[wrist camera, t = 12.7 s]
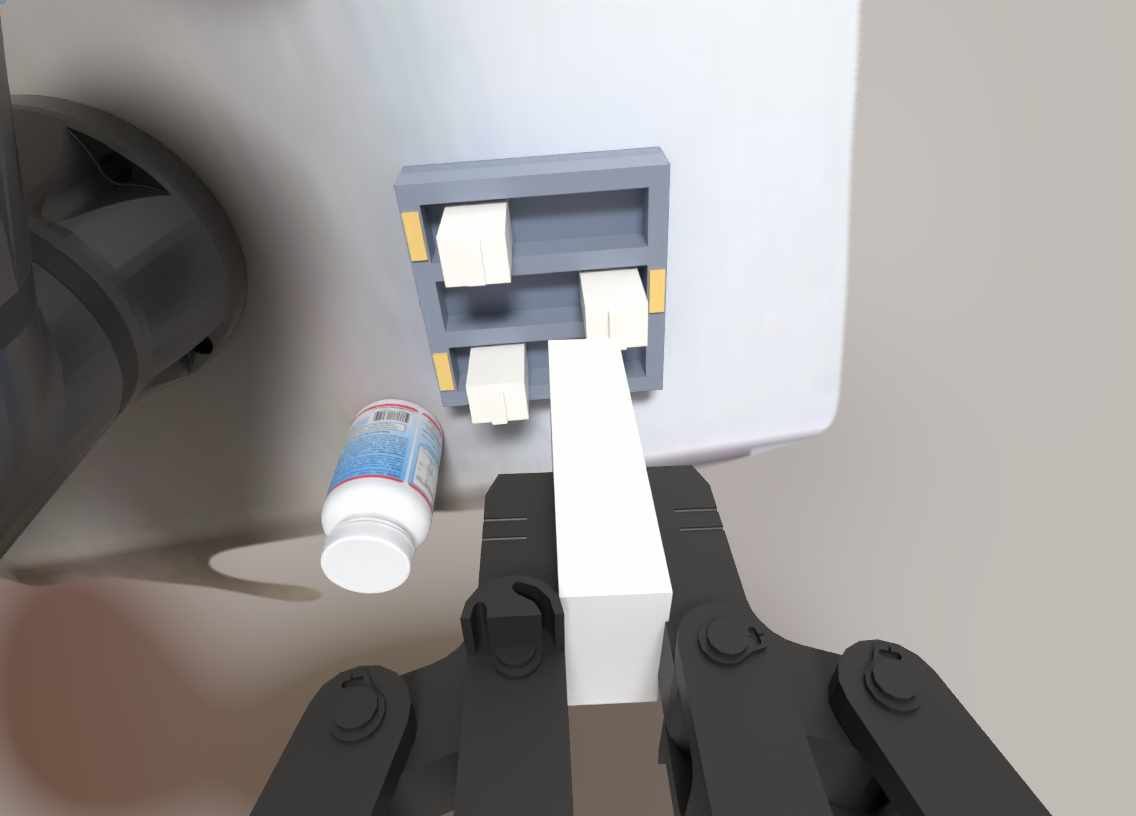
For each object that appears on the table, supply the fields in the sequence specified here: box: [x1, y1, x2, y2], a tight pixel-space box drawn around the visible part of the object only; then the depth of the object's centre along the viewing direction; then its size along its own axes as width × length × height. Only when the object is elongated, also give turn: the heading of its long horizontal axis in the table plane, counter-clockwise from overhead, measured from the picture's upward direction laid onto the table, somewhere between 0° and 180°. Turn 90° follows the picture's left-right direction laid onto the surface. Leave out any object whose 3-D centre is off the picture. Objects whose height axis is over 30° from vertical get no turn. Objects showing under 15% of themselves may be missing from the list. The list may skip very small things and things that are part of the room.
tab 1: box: [436, 198, 513, 287], centre depth 31 cm, size 3×2×6 cm
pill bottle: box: [321, 399, 443, 593], centre depth 38 cm, size 6×6×11 cm
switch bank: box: [394, 147, 670, 407], centre depth 35 cm, size 13×13×3 cm
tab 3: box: [579, 266, 648, 350], centre depth 33 cm, size 3×2×6 cm
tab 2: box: [466, 342, 529, 425], centre depth 35 cm, size 3×2×6 cm
